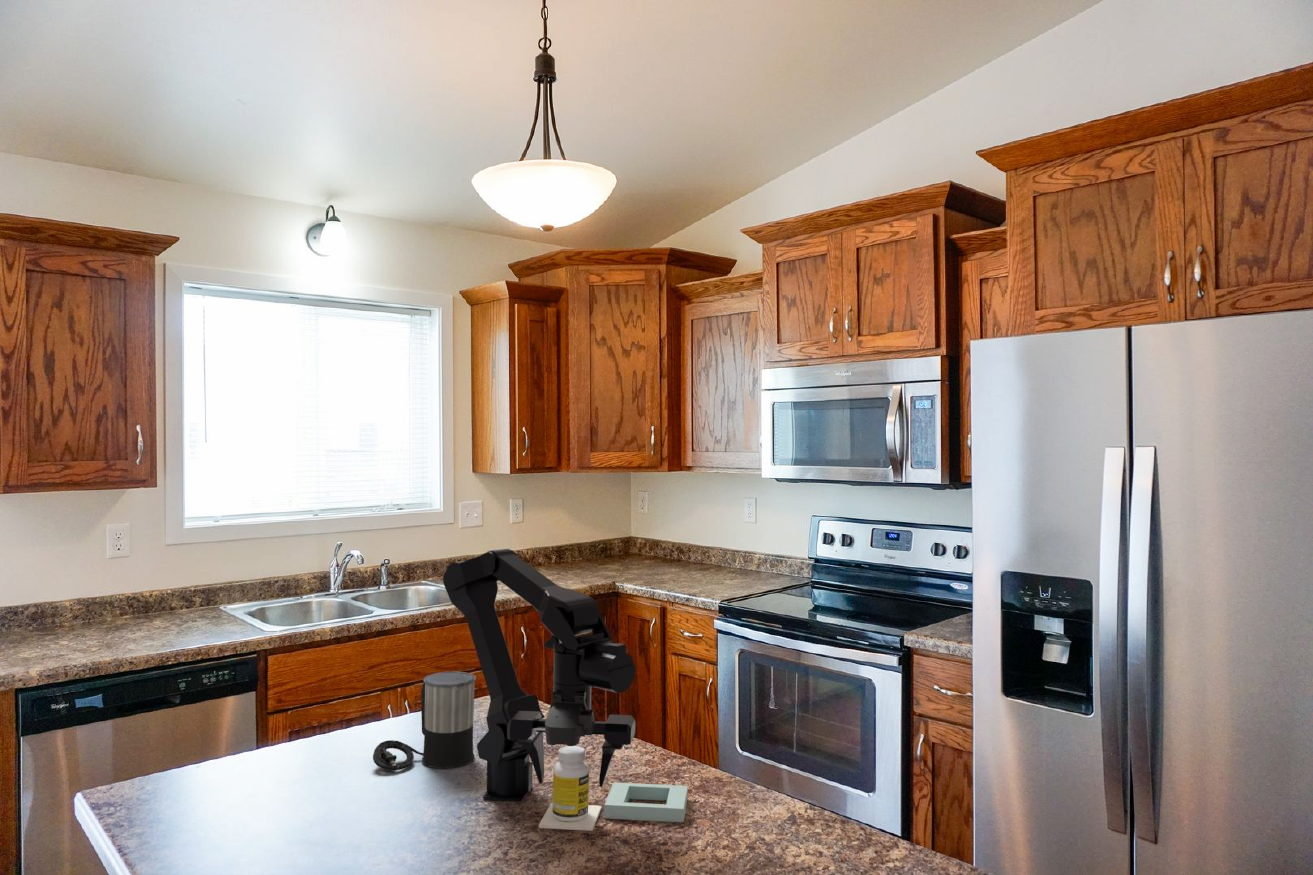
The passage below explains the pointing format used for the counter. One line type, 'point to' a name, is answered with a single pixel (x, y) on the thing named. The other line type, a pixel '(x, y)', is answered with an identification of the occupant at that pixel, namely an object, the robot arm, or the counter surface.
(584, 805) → the supplement bottle
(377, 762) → the milk frother
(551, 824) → the white square tile
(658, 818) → the holder block
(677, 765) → the counter surface
